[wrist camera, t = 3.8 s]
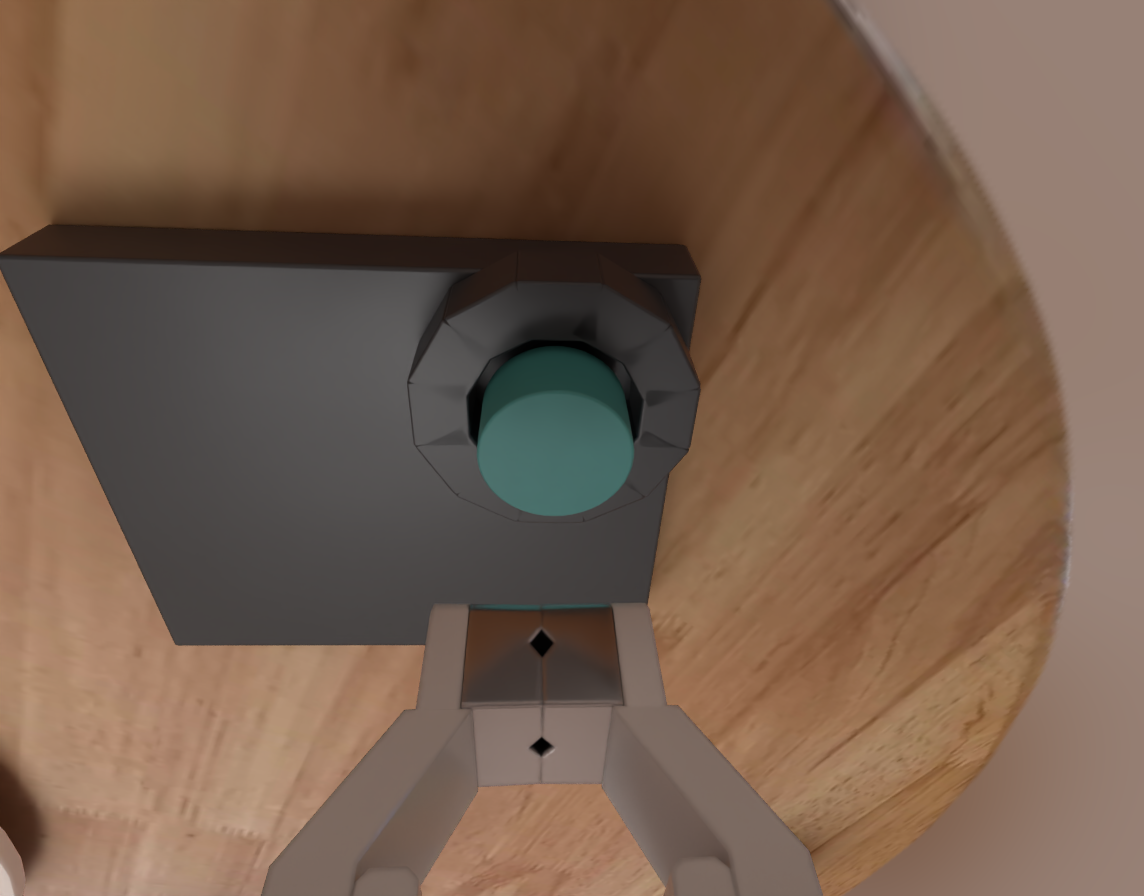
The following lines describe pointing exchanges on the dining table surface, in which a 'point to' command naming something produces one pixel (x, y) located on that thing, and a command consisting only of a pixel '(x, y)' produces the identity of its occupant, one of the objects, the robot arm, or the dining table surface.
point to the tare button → (554, 432)
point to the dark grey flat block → (349, 416)
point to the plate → (10, 868)
